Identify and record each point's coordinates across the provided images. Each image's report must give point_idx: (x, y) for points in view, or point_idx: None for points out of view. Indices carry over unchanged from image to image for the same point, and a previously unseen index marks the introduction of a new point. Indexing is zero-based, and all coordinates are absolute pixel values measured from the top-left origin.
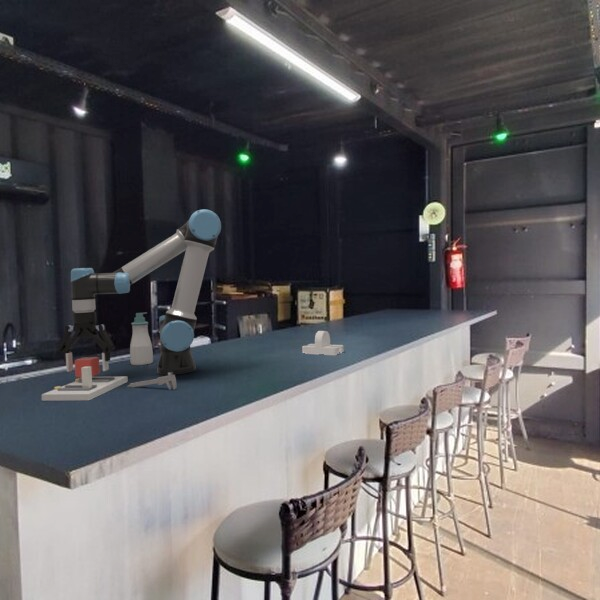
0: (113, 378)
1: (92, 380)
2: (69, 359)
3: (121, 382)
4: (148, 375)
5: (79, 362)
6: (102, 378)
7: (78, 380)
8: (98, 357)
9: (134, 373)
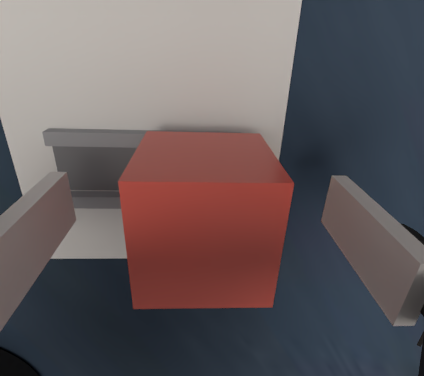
0: None
1: None
2: (371, 240)
3: None
4: (42, 336)
5: (237, 171)
6: None
7: None
8: (133, 302)
9: (131, 363)
